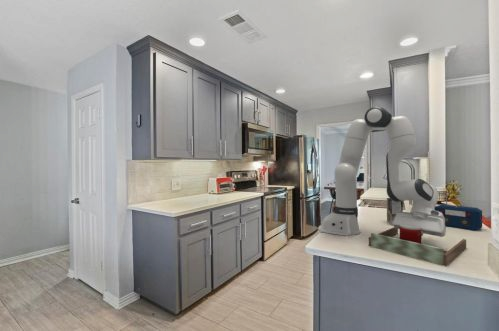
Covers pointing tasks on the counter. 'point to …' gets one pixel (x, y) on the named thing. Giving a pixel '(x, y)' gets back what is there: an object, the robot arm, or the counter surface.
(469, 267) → the counter surface
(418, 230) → the canned food
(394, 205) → the coffee box
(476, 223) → the radio
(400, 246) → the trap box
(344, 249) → the counter surface
